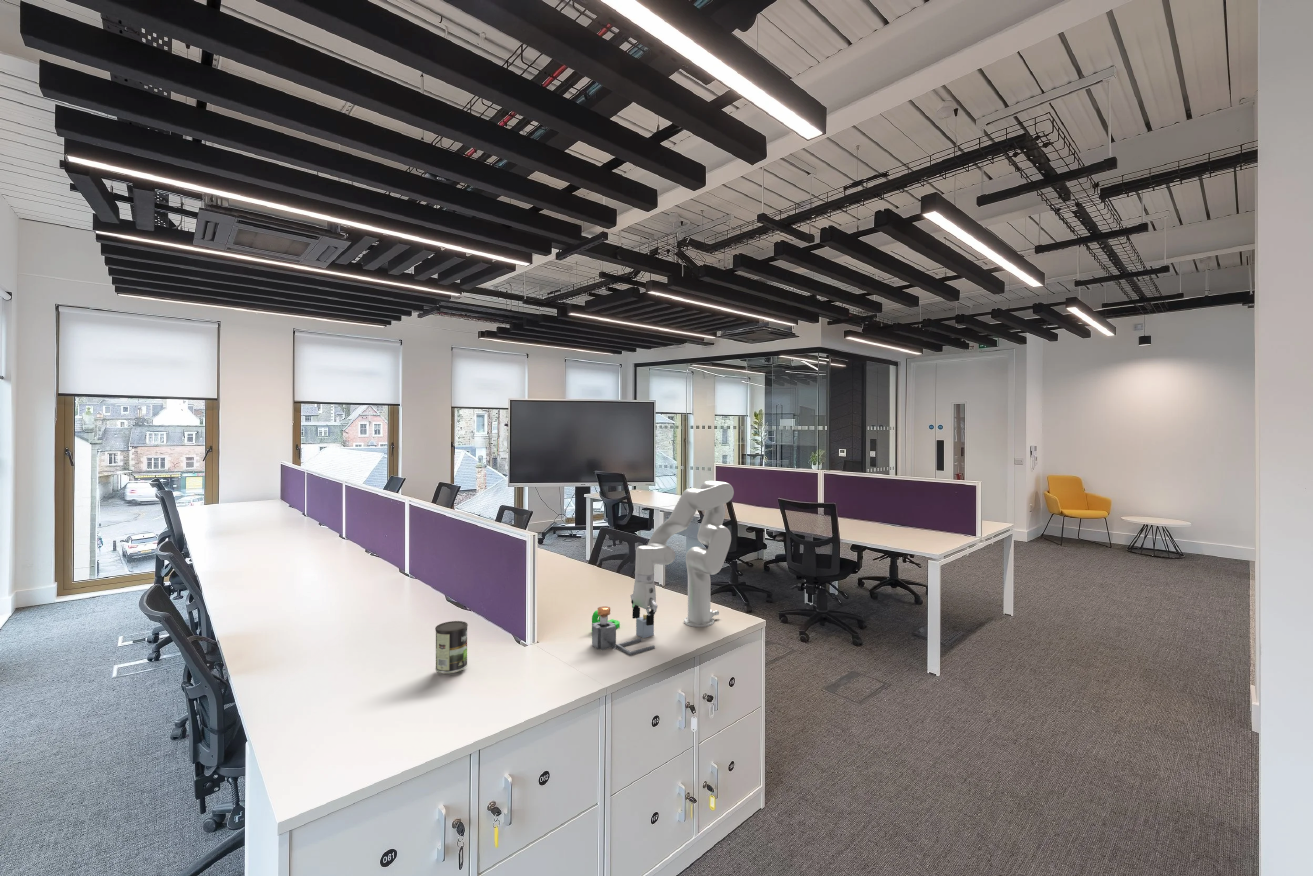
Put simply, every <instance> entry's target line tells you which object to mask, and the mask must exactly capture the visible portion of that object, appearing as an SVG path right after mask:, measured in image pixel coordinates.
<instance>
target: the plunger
mask: <svg viewBox="0 0 1313 876" xmlns="http://www.w3.org/2000/svg"><path fill="white" fill-rule="evenodd" d="M597 610H598V615H600V627H606V626H608V620H609V619H608V616H610V615H611V607H610V606H599V607H597Z"/></svg>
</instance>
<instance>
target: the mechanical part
mask: <svg viewBox="0 0 1313 876" xmlns="http://www.w3.org/2000/svg"><path fill="white" fill-rule="evenodd" d="M597 622H600V615H598V609H596V610H595V611H594V612H593V614H592V616H591V624H592V623H597ZM608 622H612V623H614V624H615V626H616V630H617V629H619V628H620V625H621V624H620V623H621V622H620V621H619V620H617V619H614V618H611V619H608Z"/></svg>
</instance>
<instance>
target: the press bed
mask: <svg viewBox="0 0 1313 876" xmlns="http://www.w3.org/2000/svg"><path fill="white" fill-rule="evenodd" d="M641 642H642V637H640V638H635V639H632V640H629V641H625V642H620V643H616V646H615V647H612V648H611V649H613V650H616V649H618V650H619V651H621V652H623V653H625V654H626V655H628V656H629V657H630V656H631V657H632V656H633V655H638V654H640V653H644V652H647V651H650V650H653V649H654V650H655V648H656V646H655V645H651V646H646V647H643V648H638V649H636V650H632V651H631V650H628V649H627V648H626V647H627V646H628V647H629V646H631V645H635V644H638V643H641Z"/></svg>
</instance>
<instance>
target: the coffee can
mask: <svg viewBox="0 0 1313 876" xmlns="http://www.w3.org/2000/svg"><path fill="white" fill-rule="evenodd" d="M468 626H469V624H468V622H466V621H462V620H453V621H452V620H451V621H445V622H442V623H439V624H437V625H436V626H434V627H435V629H434V630H435V668H434V669H435V671H436V672H437V673H439V674H453V673H458V672H460V671H463V670H465V669H466V668H467V667H468Z"/></svg>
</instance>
